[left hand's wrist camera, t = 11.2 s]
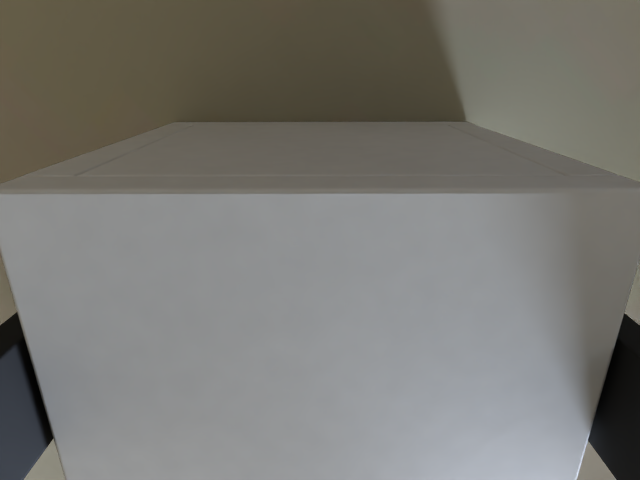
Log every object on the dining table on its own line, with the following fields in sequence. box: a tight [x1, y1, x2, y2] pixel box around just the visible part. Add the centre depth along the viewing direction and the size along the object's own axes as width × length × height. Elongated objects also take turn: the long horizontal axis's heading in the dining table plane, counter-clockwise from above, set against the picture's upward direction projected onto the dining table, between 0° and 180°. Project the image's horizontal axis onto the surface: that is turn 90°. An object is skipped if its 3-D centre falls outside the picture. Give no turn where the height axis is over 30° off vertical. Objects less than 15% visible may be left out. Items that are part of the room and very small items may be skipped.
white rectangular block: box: [0, 122, 640, 480], centre depth 16 cm, size 21×12×10 cm, turn 0°
